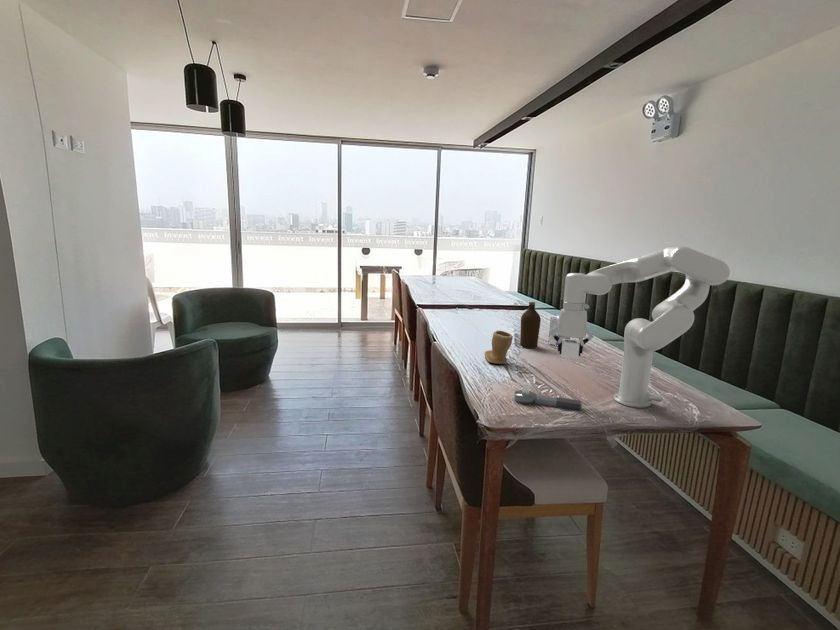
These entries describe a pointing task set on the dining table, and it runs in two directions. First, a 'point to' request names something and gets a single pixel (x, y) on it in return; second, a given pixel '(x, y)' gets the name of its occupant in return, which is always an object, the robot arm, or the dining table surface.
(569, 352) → the socket
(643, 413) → the dining table surface
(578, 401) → the ratchet
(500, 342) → the tan boot
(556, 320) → the candy box
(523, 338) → the olive oil
